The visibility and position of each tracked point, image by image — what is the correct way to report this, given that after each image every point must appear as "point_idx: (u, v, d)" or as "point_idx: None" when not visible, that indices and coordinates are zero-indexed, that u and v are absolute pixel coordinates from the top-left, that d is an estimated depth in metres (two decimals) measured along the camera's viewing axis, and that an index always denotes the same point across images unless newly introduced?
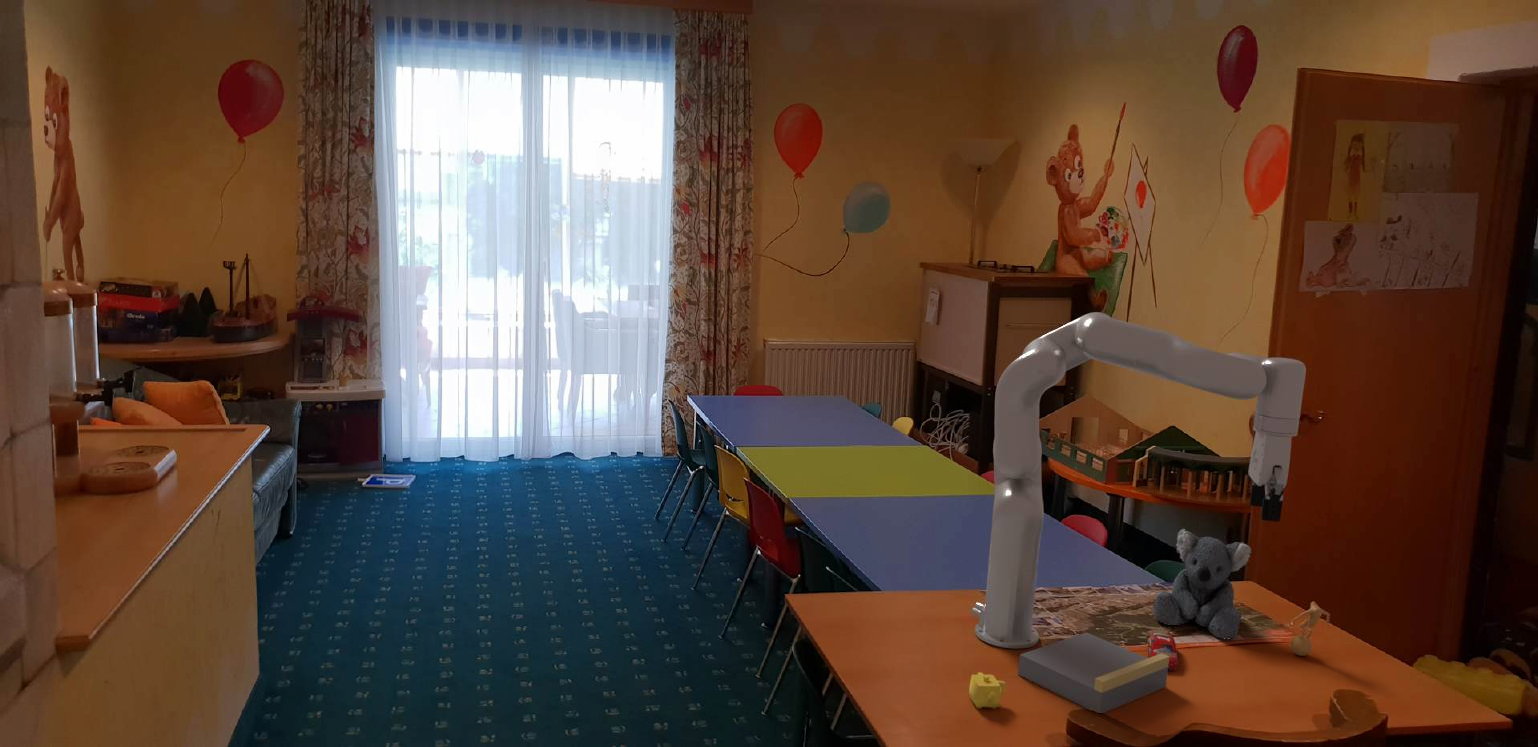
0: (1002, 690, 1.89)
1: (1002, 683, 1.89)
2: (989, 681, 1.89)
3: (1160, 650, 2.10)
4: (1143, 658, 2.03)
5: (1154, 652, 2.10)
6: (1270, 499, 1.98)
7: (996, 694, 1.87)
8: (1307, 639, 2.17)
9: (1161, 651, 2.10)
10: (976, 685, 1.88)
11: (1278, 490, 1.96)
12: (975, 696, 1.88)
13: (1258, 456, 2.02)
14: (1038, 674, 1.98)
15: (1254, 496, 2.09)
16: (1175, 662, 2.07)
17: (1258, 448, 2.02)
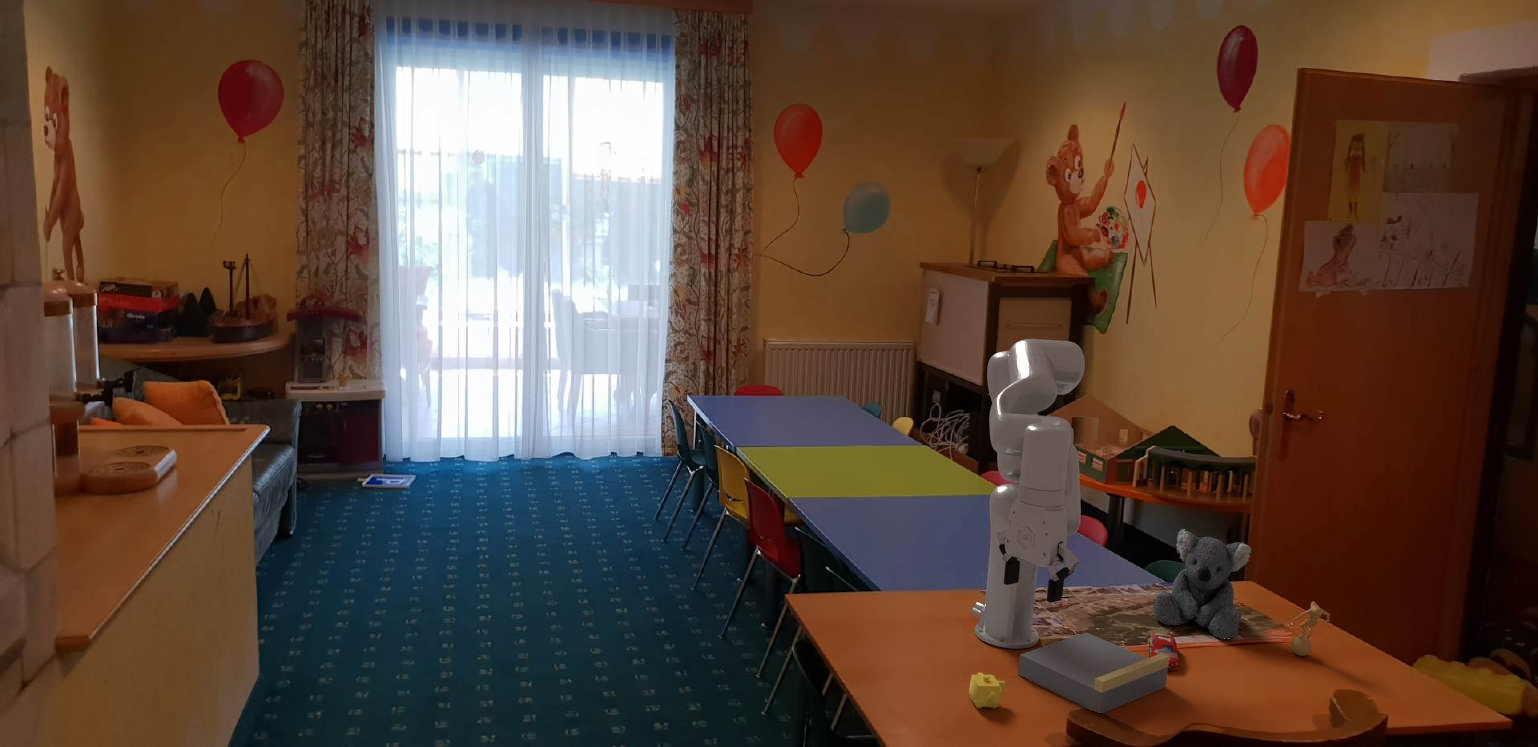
0: (1002, 690, 1.89)
1: (1002, 683, 1.89)
2: (989, 681, 1.89)
3: (1161, 650, 2.10)
4: (1143, 658, 2.03)
5: (1155, 652, 2.10)
6: (1059, 579, 1.82)
7: (996, 694, 1.87)
8: (1307, 639, 2.17)
9: (1162, 651, 2.10)
10: (976, 685, 1.88)
11: (1072, 569, 1.81)
12: (975, 696, 1.88)
13: (1036, 534, 1.83)
14: (1038, 674, 1.98)
15: (1009, 574, 1.91)
16: (1176, 662, 2.07)
17: (1034, 526, 1.84)
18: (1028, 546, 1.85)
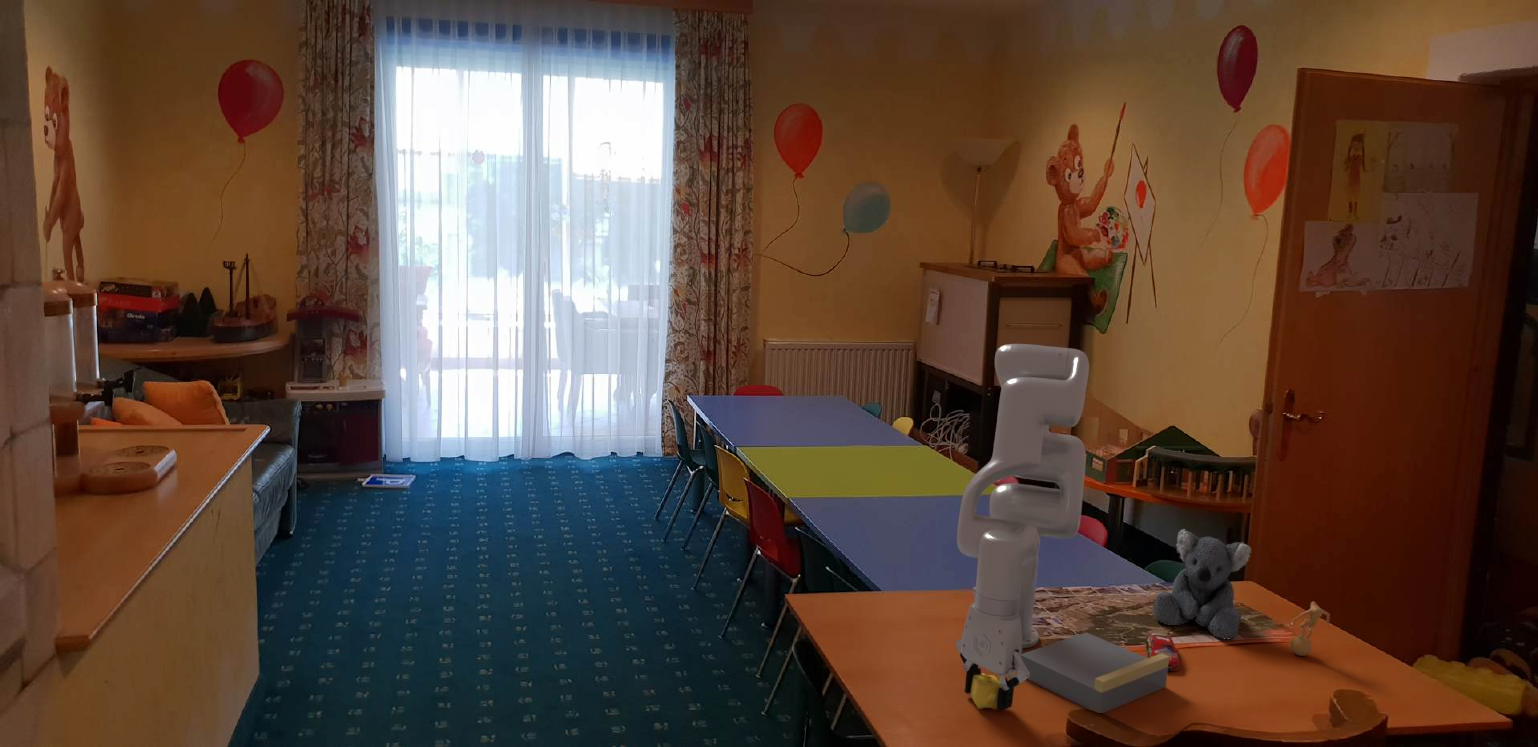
0: None
1: None
2: (991, 682, 1.88)
3: (1161, 651, 2.10)
4: (1143, 658, 2.03)
5: (1155, 653, 2.10)
6: (1009, 688, 1.85)
7: (997, 695, 1.87)
8: (1307, 639, 2.17)
9: (1162, 652, 2.10)
10: (977, 685, 1.88)
11: (1021, 681, 1.83)
12: (976, 697, 1.88)
13: (992, 642, 1.84)
14: (1038, 674, 1.98)
15: (970, 683, 1.91)
16: (1177, 662, 2.07)
17: (989, 633, 1.85)
18: (984, 653, 1.86)
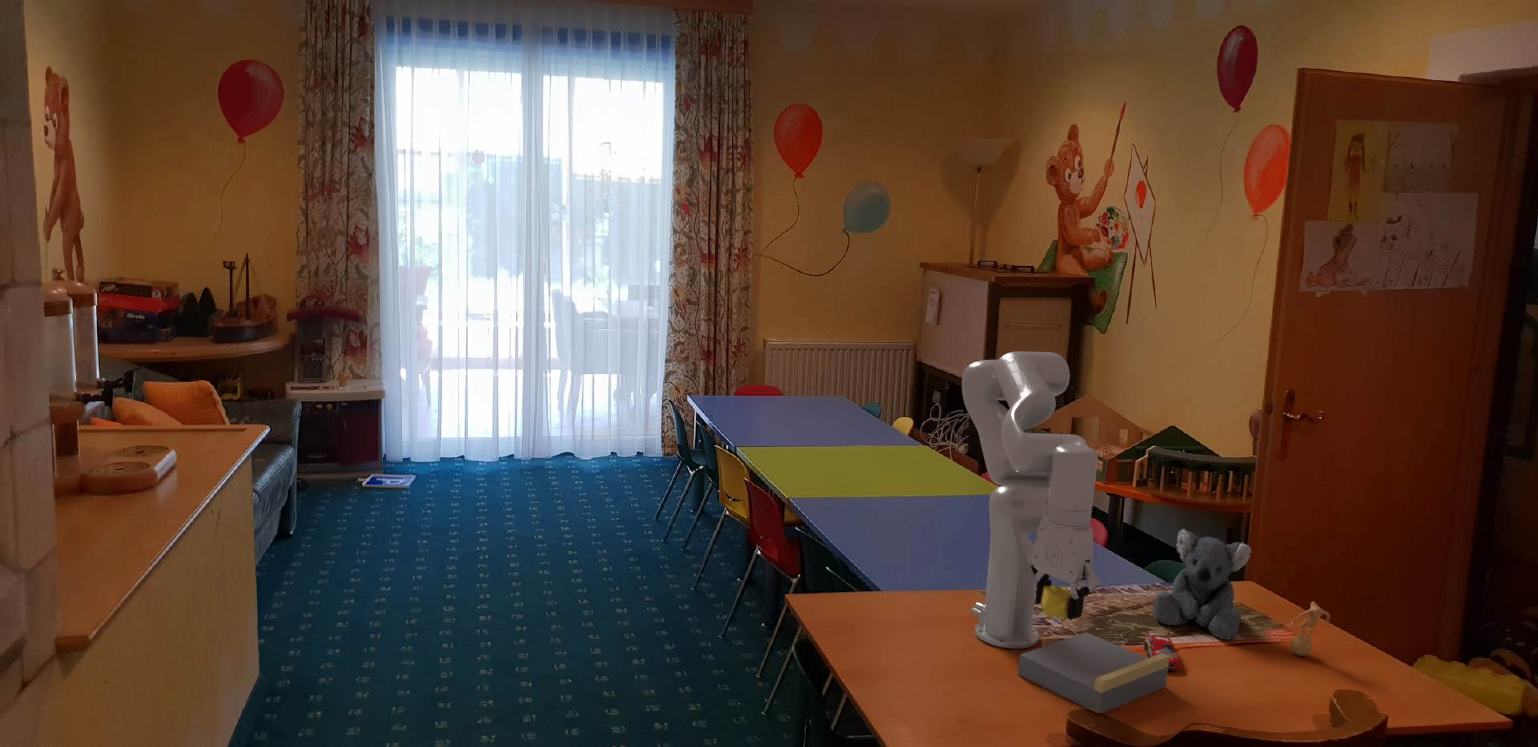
0: None
1: None
2: (1061, 592, 1.93)
3: (1162, 651, 2.10)
4: (1143, 658, 2.03)
5: (1156, 653, 2.09)
6: (1079, 597, 1.89)
7: (1067, 604, 1.91)
8: (1307, 639, 2.17)
9: (1163, 652, 2.10)
10: (1047, 595, 1.92)
11: (1092, 590, 1.88)
12: (1046, 606, 1.93)
13: (1063, 552, 1.89)
14: (1038, 674, 1.98)
15: (1041, 594, 1.96)
16: (1178, 662, 2.07)
17: (1061, 544, 1.89)
18: (1055, 563, 1.91)
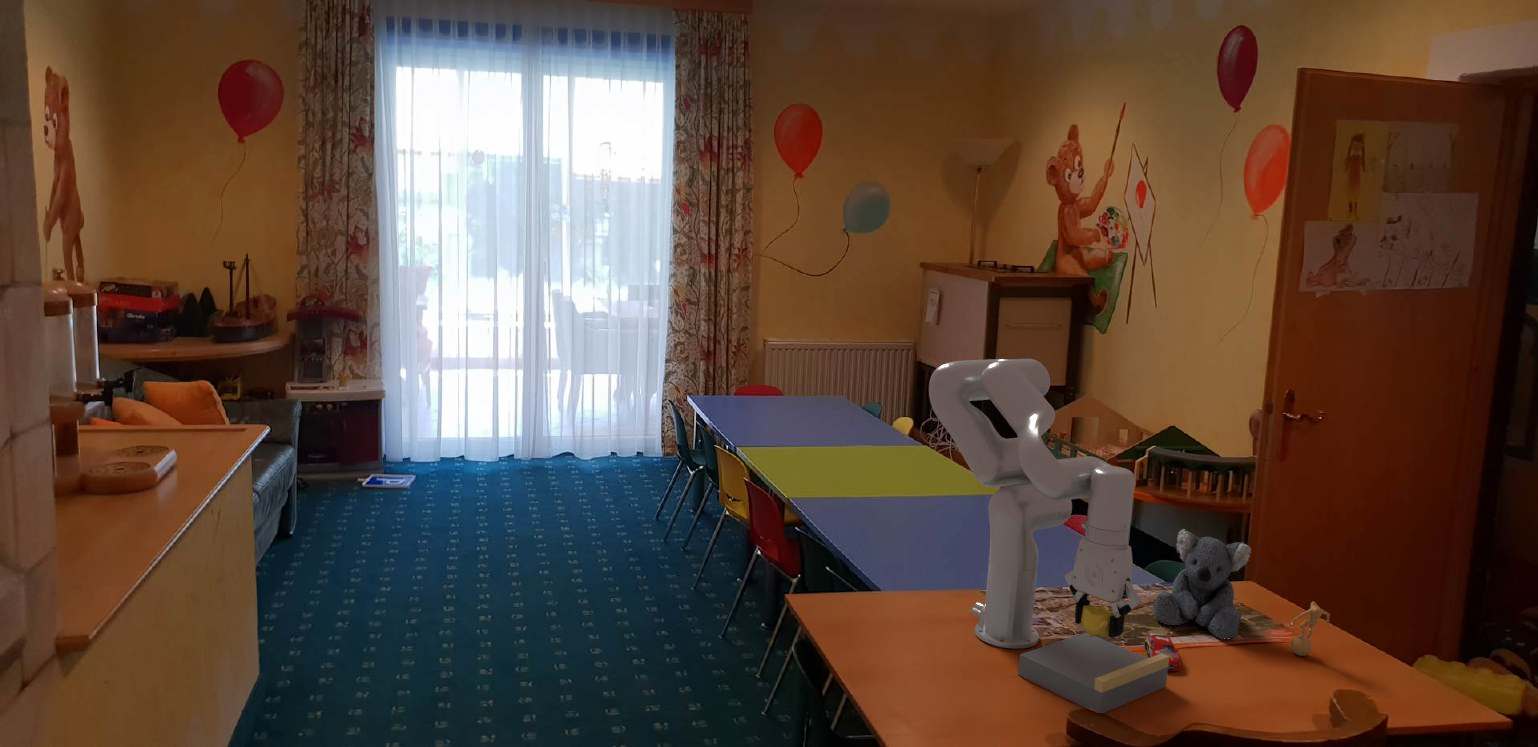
0: None
1: None
2: (1101, 611, 1.98)
3: (1162, 651, 2.10)
4: (1143, 658, 2.03)
5: (1156, 653, 2.09)
6: (1121, 615, 1.94)
7: (1108, 623, 1.96)
8: (1307, 639, 2.17)
9: (1163, 652, 2.10)
10: (1089, 614, 1.97)
11: (1133, 608, 1.93)
12: (1087, 625, 1.97)
13: (1104, 572, 1.94)
14: (1038, 674, 1.98)
15: (1080, 614, 2.01)
16: (1179, 662, 2.07)
17: (1102, 563, 1.94)
18: (1096, 582, 1.96)
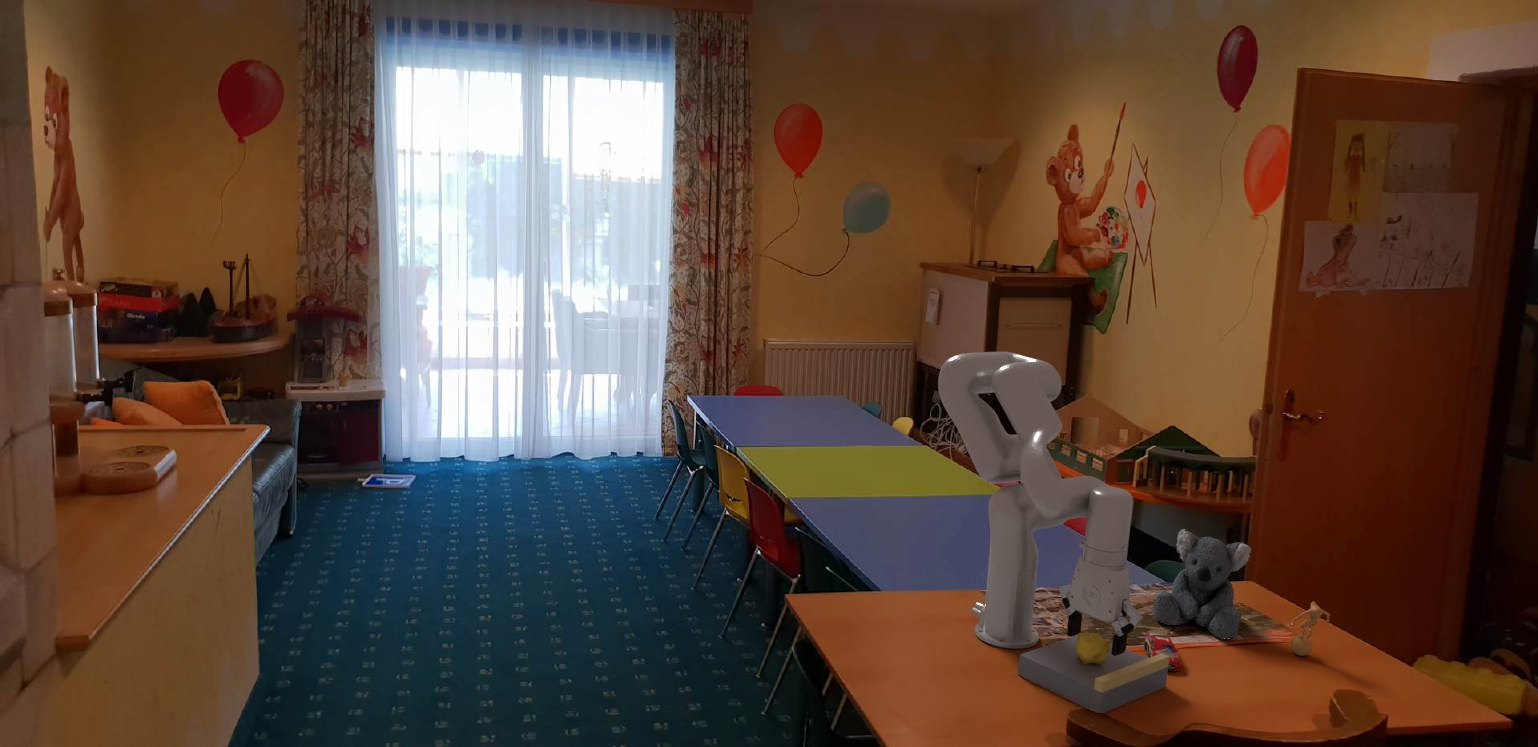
0: (1108, 648, 2.00)
1: (1108, 641, 2.00)
2: (1096, 639, 1.99)
3: (1162, 651, 2.10)
4: (1143, 658, 2.03)
5: (1157, 653, 2.09)
6: (1124, 634, 1.94)
7: (1102, 651, 1.98)
8: (1307, 639, 2.17)
9: (1163, 652, 2.10)
10: (1083, 642, 1.98)
11: (1136, 625, 1.93)
12: (1081, 652, 1.99)
13: (1102, 592, 1.95)
14: (1038, 674, 1.98)
15: (1073, 627, 2.02)
16: (1179, 662, 2.07)
17: (1099, 584, 1.95)
18: (1093, 603, 1.96)
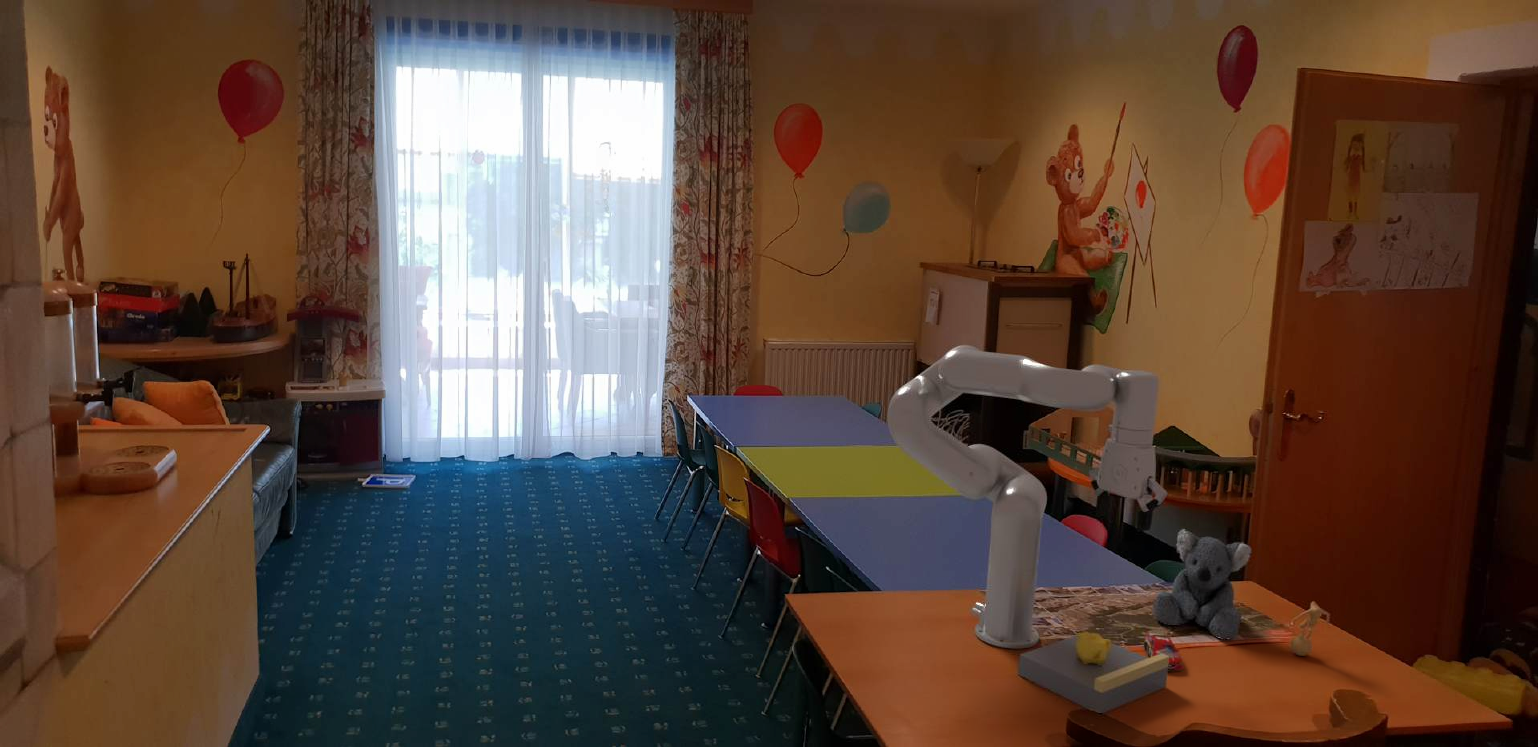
0: (1108, 648, 2.00)
1: (1108, 641, 2.00)
2: (1095, 639, 1.99)
3: (1162, 651, 2.10)
4: (1143, 658, 2.03)
5: (1157, 653, 2.09)
6: (1149, 510, 2.03)
7: (1102, 651, 1.98)
8: (1307, 639, 2.17)
9: (1164, 652, 2.10)
10: (1083, 642, 1.98)
11: (1161, 501, 2.01)
12: (1081, 653, 1.99)
13: (1128, 470, 2.04)
14: (1038, 674, 1.98)
15: (1101, 507, 2.11)
16: (1180, 662, 2.07)
17: (1125, 462, 2.04)
18: (1120, 481, 2.05)
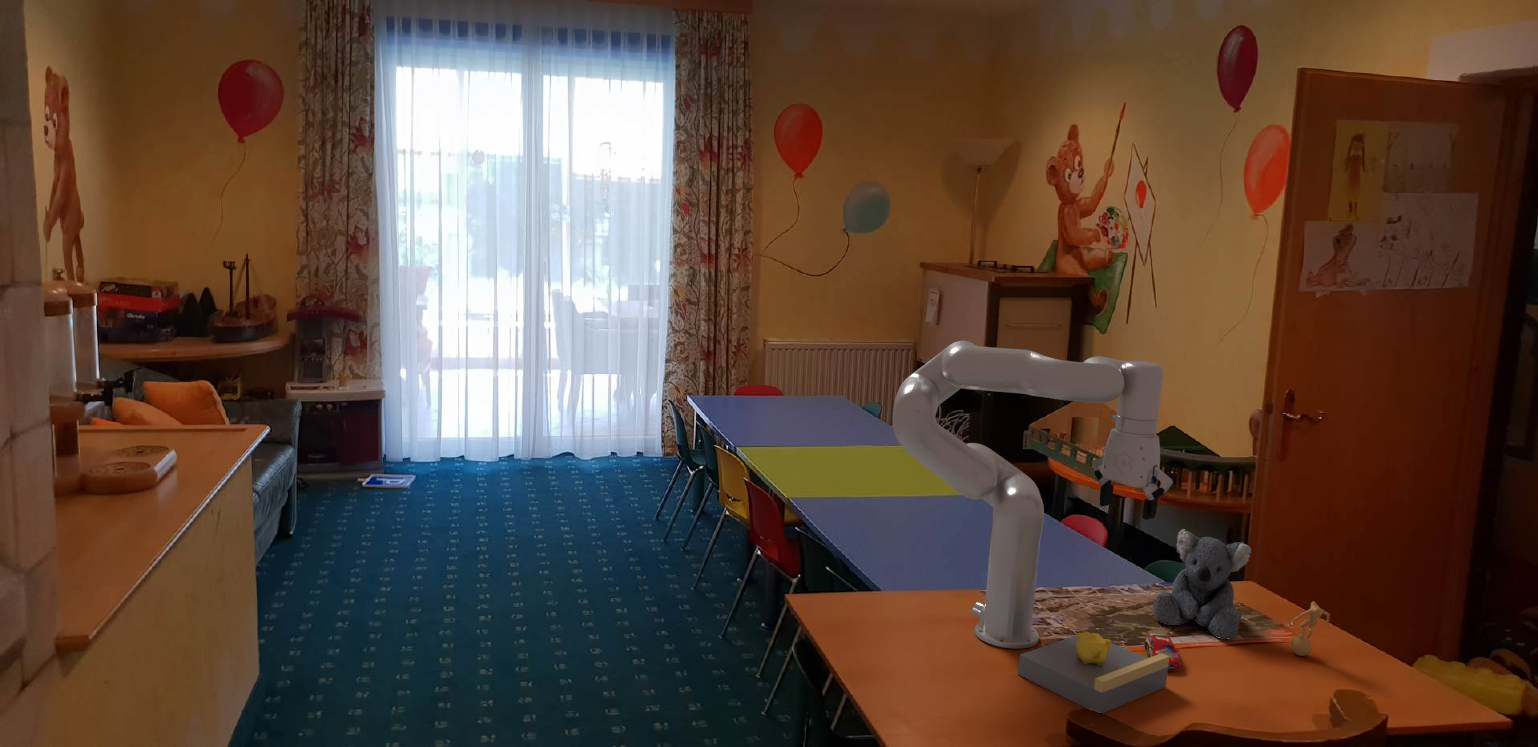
0: (1108, 648, 2.00)
1: (1108, 641, 2.00)
2: (1095, 639, 1.99)
3: (1162, 651, 2.10)
4: (1143, 658, 2.03)
5: (1157, 653, 2.09)
6: (1154, 498, 2.06)
7: (1102, 651, 1.98)
8: (1307, 639, 2.17)
9: (1163, 652, 2.10)
10: (1083, 642, 1.98)
11: (1166, 489, 2.04)
12: (1081, 652, 1.99)
13: (1133, 459, 2.06)
14: (1038, 674, 1.98)
15: (1105, 497, 2.14)
16: (1179, 662, 2.07)
17: (1131, 452, 2.07)
18: (1125, 470, 2.08)
